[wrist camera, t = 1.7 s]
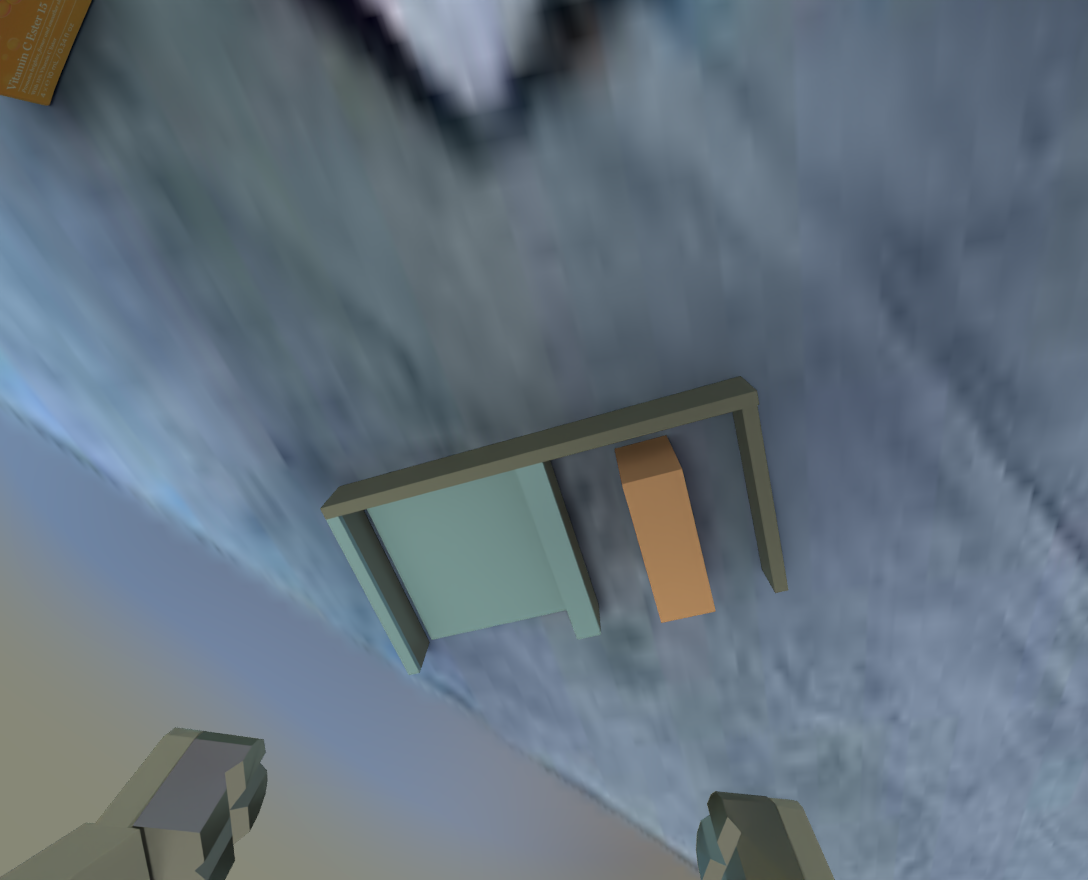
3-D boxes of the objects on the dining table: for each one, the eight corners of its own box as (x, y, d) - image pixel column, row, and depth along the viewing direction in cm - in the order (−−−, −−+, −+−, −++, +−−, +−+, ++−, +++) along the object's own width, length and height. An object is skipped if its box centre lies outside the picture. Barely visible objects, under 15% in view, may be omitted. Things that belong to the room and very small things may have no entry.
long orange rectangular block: (665, 434, 40) (682, 468, 34) (696, 562, 44) (715, 611, 38) (614, 448, 40) (621, 484, 35) (649, 572, 45) (661, 622, 39)
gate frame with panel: (740, 375, 38) (756, 390, 34) (774, 566, 44) (790, 594, 40) (338, 486, 42) (320, 508, 39) (419, 644, 48) (408, 675, 45)
